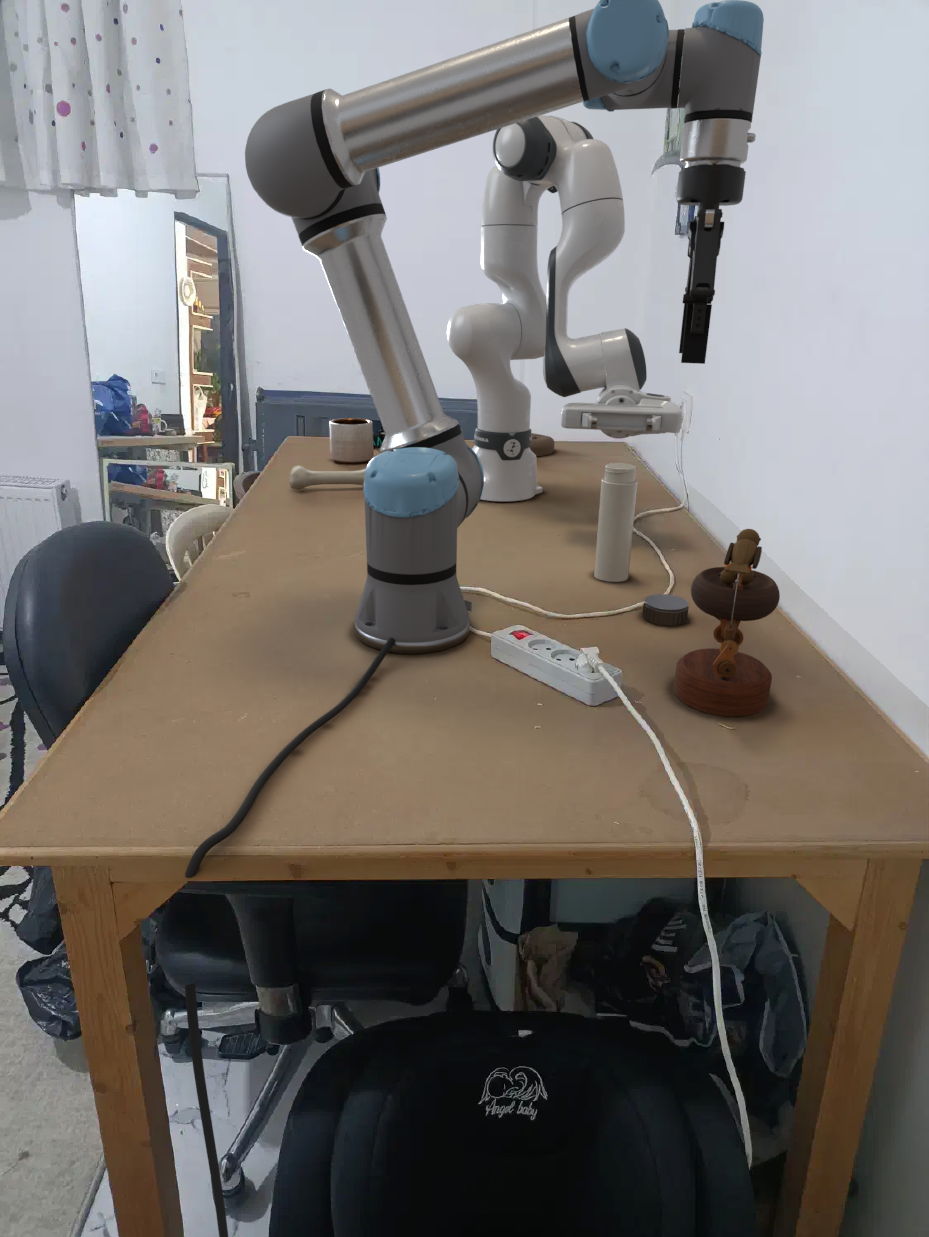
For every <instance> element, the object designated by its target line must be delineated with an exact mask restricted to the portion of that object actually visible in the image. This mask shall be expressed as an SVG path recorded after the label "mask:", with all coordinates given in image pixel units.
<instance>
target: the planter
mask: <svg viewBox="0 0 929 1237" xmlns="http://www.w3.org/2000/svg"><path fill="white" fill-rule="evenodd" d="M328 424H329V425H328V426H329V453H330V454H329V455H330V456H329V457H330V459H331V460H332V461H333V462H335V463H341V464H363V463H367V462H368V463H369V462H370V461H371V460H372V459H373V458H374V457H375V455H374V452H375V451H374V450H375V449H374V447H373V433H374V430H373V429H374V428H373V420H371V419H369V418H362V417H361V418H360V417H342V418H341V417H340V418H335V419H334V418H333V419H331V420H329V421H328Z"/></svg>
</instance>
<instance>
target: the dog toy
mask: <svg viewBox="0 0 929 1237" xmlns="http://www.w3.org/2000/svg"><path fill="white" fill-rule="evenodd" d="M365 470H366V468H364V469H359V470H339V471H337V470H335V471H334V470H332V471H331V470H329V471H328V470H327V471H326V470H325V471H324V470H323V471H321V470H319V471H317V470H311V469H310V470H309V469H307V468H305V467H304V466H302V465H294V466H293V467H292V469H291V470H290V473H289V479H288V482H289V487H290V488H291V489H293V490H303V489H305V488H307V487H311V486H312V487H313V486H319V485H356V486H364V481H365Z"/></svg>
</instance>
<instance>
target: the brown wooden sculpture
mask: <svg viewBox="0 0 929 1237" xmlns="http://www.w3.org/2000/svg"><path fill="white" fill-rule="evenodd" d="M761 541H762V538H761V537H760V535H759V532H757V531H756V530H755V529H753V528H745V529H742V530H741V531H740V532H738V534H736V542H730V543H729V545H728V548H727V550H726V553H725V556H724V561H723V564H724V565H725V566H716V567H709V568H705V569H704V570H702V571H701V572H699V573H698V574H697V575H696V576H695V578H694V579H693V581H692V584H691V587H690V595H691V599H692V601H693V603H694V604H695V606H696V607H697V608H699V610H700V611H702V612H703V613H704V614H707V615H709V616H712V617H713V618H715V619H717V620H718V621H719V622H720V624H717V625H716V626H715V627H714V629H713V638H714V640H715V641H716V642H717V643H720V645H719V648H700V649H696V650H692V651H690V652H688V653H686V654H684V655H683V656H681V657H679V659H678V660H677V661H676V666H675V667H676V668H675V673H674V674H675V676H674V684H673V691H674V694H675V696H676V697H677V698H678V699H679V700H680V701H681V702H682V703H684V704H685V705H687V706H689V707H691V708H693V709H695V710H699V711H701V712H704V713H708V714H713V715H717V716H726V717H744V716H749V715H754V714H757V713H760V712H762V711H763V710H765V709H766V707H767V706H768V704H769V697H770V693H771V687H772V680H773V674H772V672H771V670H770V669H769V668H768V667H767V666H766V665H765V664H764V662H762V661H761V660H760V659H757V658H756V657H754V656H752V655H750V654H746V653H744V652H740V651H739V650H740V649H739V647H740V646H741V644H743V642H744V634H743V632H742V631H741V629H740V628H739V627H740V624H741V622H752V621H753V622H754V621H759V620H762V619H764V618H766V617H768V616H769V615H771V614H772V613H773V612H774V611H775V610H776V609H777V607H778V605H779V602H780V596H781V592H780V589H779V587H778V584H777V583H776V582H775V580H774V579H773V578H772V577H771V576H769V575H767V574H765V573H763V572H760V571H757V570H756V569H757V568H758V566H759V564H760V560H761V557H762V550H763V547H762V546H761V545H760V542H761ZM759 545H760V546H759Z"/></svg>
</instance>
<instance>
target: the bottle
mask: <svg viewBox="0 0 929 1237" xmlns="http://www.w3.org/2000/svg"><path fill="white" fill-rule="evenodd" d="M603 471H604V477H602V478H601V482H600V495H599V507H598V509H599V510H598V517H597V518H598V520H597V531H596V532H597V533H596V544H595V558H594V570H593V571H594V572H593V576H594V578H595V579H597V580H599V581H603V582H607V583H621V582H625V581H627V580H628V579H629V575H630V567H631V566H630V565H631V555H632V554H631V553H632V545H633V532H634V522H635V513H636V510H635V509H636V502H637V491H638V480H637V479H636V471H637V466H636V465H635V464H631V463H626V462H610V463H606V464H605V468H604V470H603Z"/></svg>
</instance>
